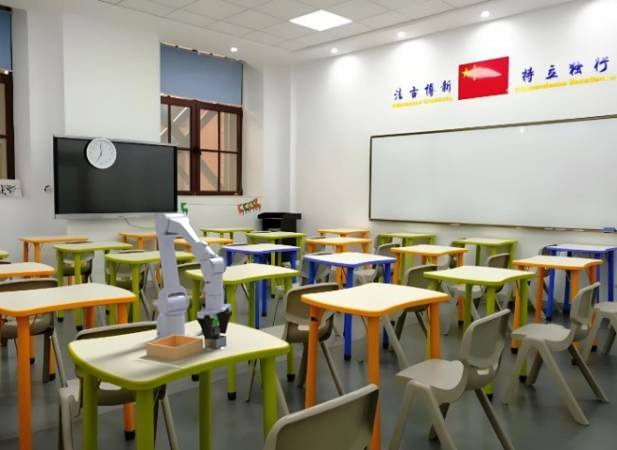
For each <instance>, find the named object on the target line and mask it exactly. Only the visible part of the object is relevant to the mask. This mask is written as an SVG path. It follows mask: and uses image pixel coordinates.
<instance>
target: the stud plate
mask: <svg viewBox="0 0 617 450" xmlns="http://www.w3.org/2000/svg"><path fill="white" fill-rule="evenodd" d="M226 348H227V345H226V346H225V347H222V348H220V349H217V350H215V349H209V348H205V347H204V349H205V350H208V351H218V350H223V349H226Z"/></svg>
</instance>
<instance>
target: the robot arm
mask: <svg viewBox="0 0 617 450" xmlns="http://www.w3.org/2000/svg"><path fill="white" fill-rule="evenodd" d="M154 227H155V234H156V238H157V243H158V250H159V252H158V253H159V259H160V265H161V266H160V267H161V275H162V280H163V287H162V289H161V290H160V291H158V293H157V309H158V311H159V312H160V313H159V314H158V315H157V318H156V337H155V338H154V339H155V340H159V339H162V338H165V337H168V336H171V335H174V334H175V335H182V336H189V337H191V335H189V334H186V327H185V324H186V323H185V321H186V320H185V318H186V317H185V313H187V309H188V308H189V306H190V299H189V296H188V295H187V294H188V293H187V289H186V288H185V287H183V286H182V285H181V284H180V278H179V277H180V276H179V269H178V263H177V255H176V247H175V240H176V238H177V237H179V236H180V237H181V238H182V239H183V240H184V241H185V242H186V243H187V244H188V245H189V246H190V253H191V254H192V256H194V258H195V259H196V261H197V262H198V263H199V264H200V271H201V273H202V277H203V278H202V279H203V281H204V289H205V290H204V291H205V292H204V293H205V308H203V309H200V311H199V310H198V311H197V312H196V314H197V317H196V321H197V323H198V324H199V325H200V328H201V332H202V331H203V334H202V335H203V339H204V338H205V339H211V329H212V323H213V320H214V318H215V317H214V318H210V317H211V316H212V315H216V318H218V325H219V326H220V334H222V335H225V334H227V330H228V325H229V322H230V320H231V317H232V315H233V311H232V304H231V303H224V274H225V272H226V270H227V262H226V260H225V258H224V257H223V256H219V255H218V254H216V253H214V251H213V250H212V248H211V247H210V245H209V244H208V242H207V241H203V240H200V238H199V237H198V236H197V233H195V231H194V230H193V228H192V226H191V225H190V218H189V217H187V214H186V213H184V212H179V213H178V212H175V213H174V212H173V213H164V212H163V213H159V214H158V215H157V217H156V218H155V219H154Z"/></svg>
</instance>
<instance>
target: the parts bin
mask: <svg viewBox="0 0 617 450" xmlns="http://www.w3.org/2000/svg"><path fill="white" fill-rule="evenodd" d="M145 344H146V345H145V346H146V349H145V350H146V356H149V357H156V358H160V359H167V360H172V361H179V360H180V359H182V358H186V357H188V356H191V355H194V354H196V353H198V352H201V351H203V350H204V338H200V337H195V336H190V337H189V336H182V335H175V334H174V335H171V336H168V337H165V338H162V339H159V340H158V339H155V340H152V341H150V342H147V343H145Z"/></svg>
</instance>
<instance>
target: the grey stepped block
mask: <svg viewBox="0 0 617 450" xmlns="http://www.w3.org/2000/svg"><path fill="white" fill-rule="evenodd" d="M225 346H226V347H227V336H226V335H221V333H220V326H219V324H218V325H212V329H211V339H205V338H204V337H203V348H204V349H205V348H209V349H215V350H214V351H218V350H217V349H219V350H221V349H220V348H222V347H225Z"/></svg>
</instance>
